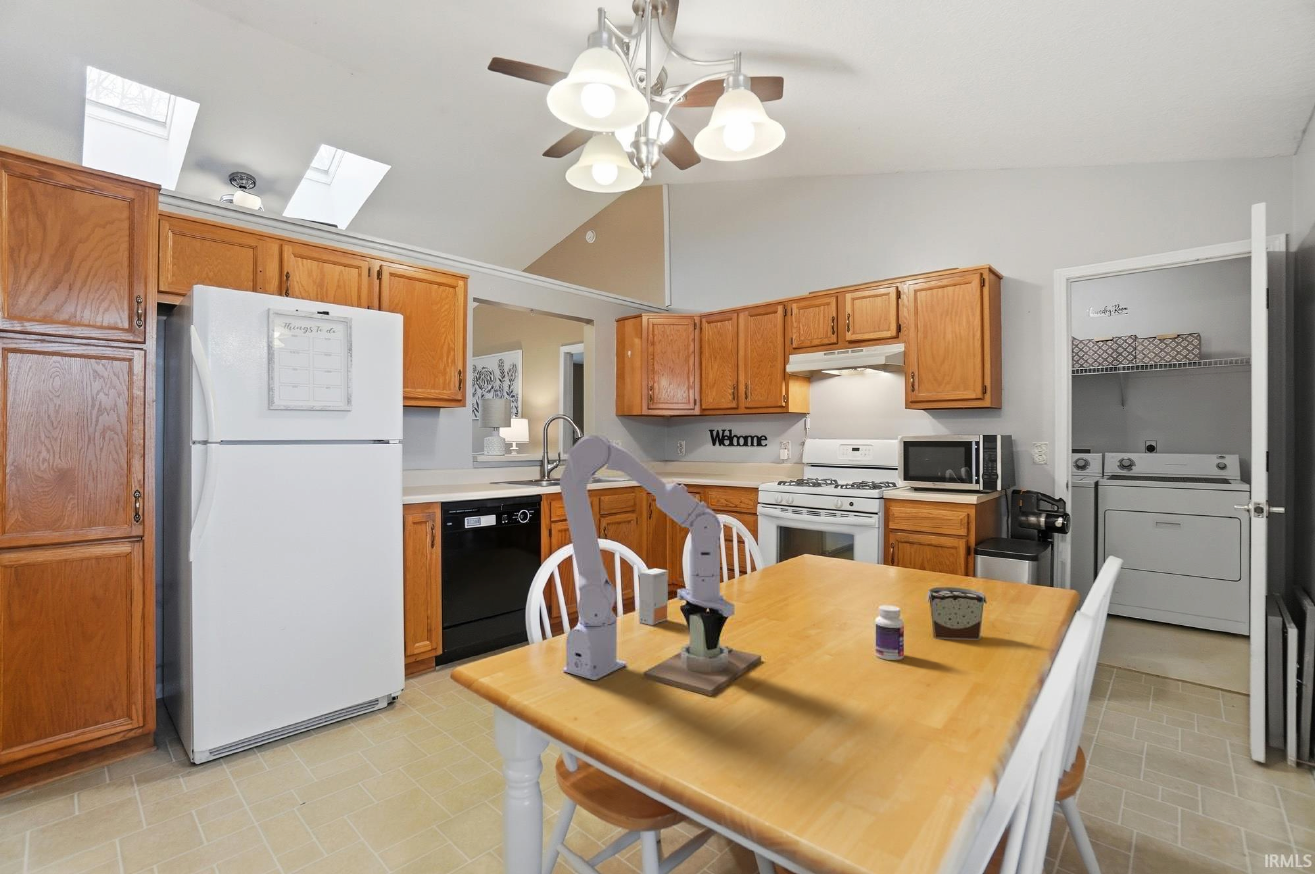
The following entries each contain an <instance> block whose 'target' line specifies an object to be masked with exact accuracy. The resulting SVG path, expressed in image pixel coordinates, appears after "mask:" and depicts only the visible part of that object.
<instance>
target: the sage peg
mask: <svg viewBox="0 0 1315 874" xmlns="http://www.w3.org/2000/svg"><path fill="white" fill-rule="evenodd" d="M689 644H690V655H693V656H697V657H714V656H719V655H720V645H721V644H720V638H719V642H718V646H717V648H716V649H712V650H707V647H706V641H705V630H704V625H703V622H702V619H701V616H700V613H698V614H693V615H690V633H689Z"/></svg>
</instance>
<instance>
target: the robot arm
mask: <svg viewBox="0 0 1315 874" xmlns="http://www.w3.org/2000/svg"><path fill="white" fill-rule="evenodd" d="M605 466H606V468H605V470H610V471H617V472H622V473H623V474H624V475H627V477H629V478H630V479H632V480H633V481H634V482H636V483H637V484H638V485H640V486H641V487H642V488H644V489H645V490H646V491H647V492H649V493H651V494H652V495H653V496H654V497H655V501H656V507H657V508H658V509H660V511H662V512H663V513H665V514H666V516H668V517H670V518H671V519H672V520H673V521H675V522H676V523H677V524H678V525H680V526H681V527H682V528H687V529H689V534H690V548H689V573H688V574H689V579H688V580H689V584H688V585H689V588H680V589H679V588H678V589H677V594H676V595H677V596H676V599H677V600H678V601H685V603H684V604H682V605H680V606H679V610H680V612H681V613H682V614H683V617H684V619H685V622H686V625H687V629H688V631H689V634H690V615H693V614H698V613H700V616H701V619H702V622H703V625H704V630H705V641H706V647H707V650H712V649H716V648H717V646H718V642H719V638H720V637H721V633H722V630H723V629H724V626H725V624H726V622H727V620H728V618H730V617H732V616H735V604H734V603H731V602H729V601H728V600H726V599H725V598H724V595H723V594H722V593H720V592H721V591H720V590H721V589H720V588H721V587H720V586H721V583H720V581H721V580H720V579H721V576H720V575H721V572H720V571H721V570H720V569H721V566H720V565H721V553H720V552H721V550H720V547H719V546H720V536H721V535H722V529H723V528H722V525H721V522H720V519H719V517H718V515H717V514H716V513H715V512H714V511H713V509H712V508H709V507H707V506H708V505H707V503H706V502H704V501H701V502H700V500H698V499H696V498H695V497H694V496H693V495H692V494H690V493H689V492H688V491H687V490H688V488H687V486H685V485H684V483H683V484H680V485H679V484H678V483H677V482H669V483H666V482H664V481H663V480H662V479H660V477H659V476H657V475H656V474H655V473H654V472H653V471H651V469H649V468H648V467H646V466H645V465H644V463H642V462H641V461H640V460H639V459H637V457H635V456H634V455H633V454H632V453H630V452H629V451H628V450H626V449H625V448H623V447H622V446H619V445H618V444H617V443H614V442H611V441H610V440H609V439H608V438H607V437H606V436H603V435H600V434H588V435H584V436H582V437H580V438H579V440H577V442H576V443H575V444H574V445H573V446H572V447H571V449H570V450H569V452H568V457H567V461H566V463H565V465H564V468H563V471H562V474H561V477H560V479H559V487H560V492H561V496H562V503H563V506H564V510H565V516H566V520H567V525H568V529H569V535H570V538H571V543H572V548H573V549H572V550H573V552H574V557H575V558H574V559H575V561H576V567H577V571H578V572H577V573H578V591H579V600H578V603H577V613H578V615H579V617H578V622H577V625H575V626H574V628H572V629H571V630H570V631H569V632H568V633H567V635H566V657H565V658H566V659H565V660H566V661H565V662H566V663H565V665H566V666H565V667H563V668H562V671H563V672H565V673H568V674H571V675H574V676H575V675H576V676H579V677H581V678H585V679H589V680H592V681H597V680H598V679H601V678H603V677H605V676H607V675H608V674H611V673H613V672H615V671H616V670H619V669H620V668H623V667H624V666H626V665H627V662H626V661H624V660H619V659H618V658H617V657H618V656H617V653H618V650H617V649H618V647H617V644H618V642H617V640H618V639H617V637H618V636H617V629H618V628H617V626H618V625H617V624H618V623H617V622H618V621H617V620H618V618H617V615H616V614H615V613H614V611H613V607H614V605H615V603H616V602H617V590H616V588H615V587H614V585H613V584H612V583H611V582H610V579H609V576H608V572H607V570H606V568H605V566H604V562H603V558H602V552H601V548H600V543H599V538H598V533H597V530H596V525H595V520H594V516H593V510H592V507H591V505H592V504H591V502H590V497H589V491H588V485H589V483H590V482H591V481H592V479H593V478H594V477H595V476H596V474H597V472H598V471H600V470H601V469H602V468H604V467H605ZM707 610H708V611H707Z"/></svg>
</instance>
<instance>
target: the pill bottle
mask: <svg viewBox="0 0 1315 874" xmlns="http://www.w3.org/2000/svg"><path fill="white" fill-rule="evenodd" d="M878 615H879V616H877V617H875V620H874V636H875V637H874V654H875V656H876V657H878V658H879V659H882V660H885V661H886V660H887V661H900V660H902V659H904V655H905V654H904V652H905V650H904V649H905V648H904V647H905V646H904V644H905V643H904V641H905V624H904V621H903V620H902V619H901V618H900V616H901V608H900V607H898V606H896V605H889V604H888V605H886V604H885V605H884V604H883V605H879V606H878Z"/></svg>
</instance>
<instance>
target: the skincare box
mask: <svg viewBox="0 0 1315 874" xmlns="http://www.w3.org/2000/svg"><path fill="white" fill-rule="evenodd" d="M668 574H669V571H668V570H666V569H661V568H656V567H655V568H651V569H647V570H645V571H644V570H643V571H640V572H639V595H638V597H639V599H638V601H639V604H638V605H639V606H638V607H639V608H638V613H639V614H638V622H639V623H640V622H641V623H640V624H644V625H645V624H646V625H650V626H654V625H656V624H659V622H660V623H663V622H665V621H667V620H668V595H669V593H668V590H669V586H668V584H669V583H668V582H669V575H668Z"/></svg>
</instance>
